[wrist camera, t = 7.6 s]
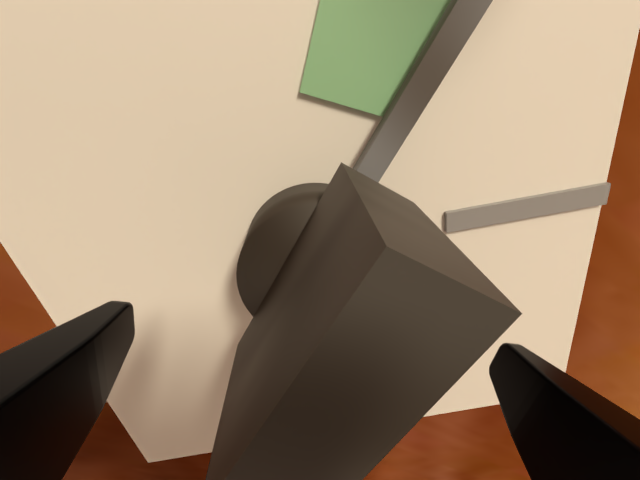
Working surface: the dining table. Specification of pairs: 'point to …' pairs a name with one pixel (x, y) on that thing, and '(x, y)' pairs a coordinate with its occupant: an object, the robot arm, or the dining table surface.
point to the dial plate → (291, 164)
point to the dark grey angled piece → (353, 307)
